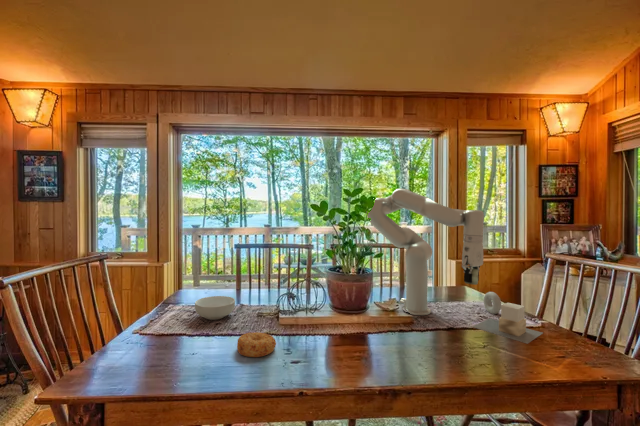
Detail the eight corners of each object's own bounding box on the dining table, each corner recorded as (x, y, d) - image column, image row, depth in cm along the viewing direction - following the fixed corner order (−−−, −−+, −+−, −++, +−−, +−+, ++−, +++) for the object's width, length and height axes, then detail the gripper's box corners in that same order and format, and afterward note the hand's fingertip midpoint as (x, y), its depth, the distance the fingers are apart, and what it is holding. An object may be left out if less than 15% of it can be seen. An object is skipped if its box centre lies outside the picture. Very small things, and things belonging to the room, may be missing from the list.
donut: (502, 317, 143) (503, 294, 143) (495, 317, 142) (496, 295, 142) (488, 310, 153) (488, 289, 153) (481, 310, 152) (482, 289, 152)
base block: (498, 330, 126) (499, 317, 126) (506, 326, 130) (506, 314, 130) (518, 336, 120) (518, 323, 120) (525, 331, 125) (526, 319, 125)
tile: (471, 328, 130) (471, 326, 130) (489, 319, 140) (489, 318, 140) (527, 345, 114) (527, 343, 114) (543, 334, 124) (543, 332, 124)
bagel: (253, 364, 100) (253, 348, 100) (228, 350, 109) (228, 336, 108) (283, 350, 109) (283, 335, 109) (258, 339, 118) (258, 325, 118)
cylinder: (462, 282, 138) (463, 268, 138) (468, 281, 141) (468, 267, 141) (474, 285, 134) (474, 270, 134) (479, 283, 137) (480, 269, 137)
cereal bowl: (228, 324, 132) (228, 307, 132) (188, 323, 133) (188, 306, 132) (239, 310, 149) (239, 295, 149) (203, 310, 150) (203, 295, 149)
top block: (501, 318, 126) (501, 305, 126) (507, 314, 129) (507, 302, 129) (517, 322, 121) (518, 309, 121) (524, 319, 125) (524, 306, 125)
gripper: (471, 241, 129) (470, 286, 130) (491, 238, 139) (489, 280, 140) (454, 239, 135) (452, 282, 135) (473, 237, 145) (472, 277, 146)
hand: (471, 281), depth 138 cm, fingers closed on cylinder, 5 cm apart
